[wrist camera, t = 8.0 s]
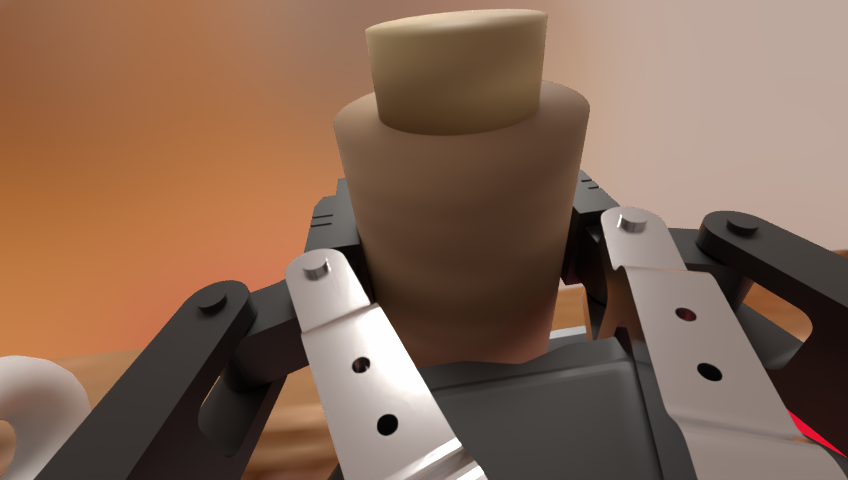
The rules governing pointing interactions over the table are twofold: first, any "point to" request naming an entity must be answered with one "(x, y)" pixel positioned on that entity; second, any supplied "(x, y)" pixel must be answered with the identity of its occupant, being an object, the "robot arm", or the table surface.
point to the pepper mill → (464, 182)
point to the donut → (38, 411)
